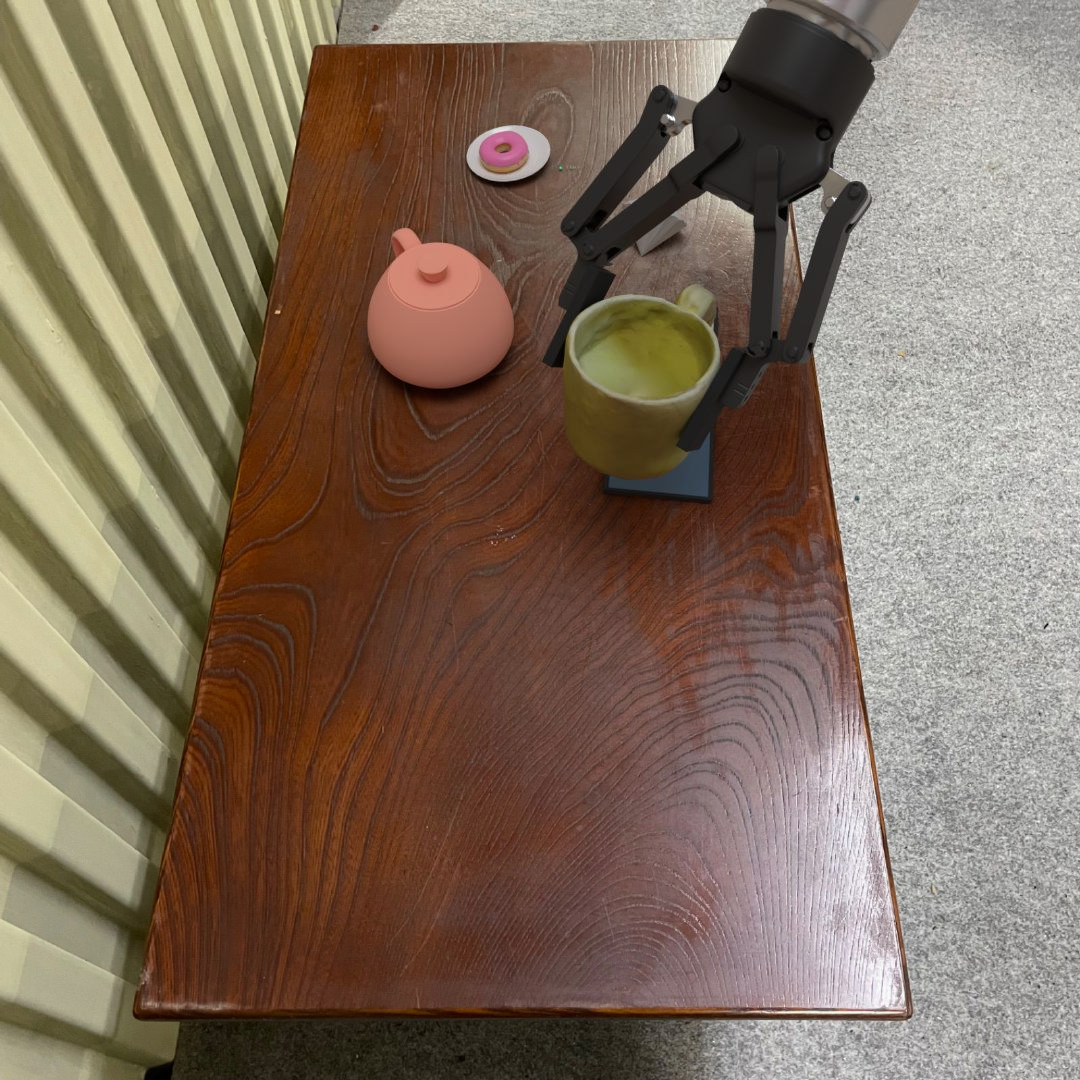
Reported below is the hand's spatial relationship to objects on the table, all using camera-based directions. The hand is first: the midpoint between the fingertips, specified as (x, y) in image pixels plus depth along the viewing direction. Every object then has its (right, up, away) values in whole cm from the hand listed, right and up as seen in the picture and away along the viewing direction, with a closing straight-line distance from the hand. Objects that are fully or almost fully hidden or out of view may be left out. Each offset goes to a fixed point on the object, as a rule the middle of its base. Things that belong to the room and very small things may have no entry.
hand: (620, 405), depth 58 cm
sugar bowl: (-14, +9, +24) cm, 29 cm away
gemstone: (+5, +20, +30) cm, 36 cm away
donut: (-7, +29, +35) cm, 46 cm away
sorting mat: (+5, +4, +21) cm, 22 cm away
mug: (+2, 0, +5) cm, 5 cm away
